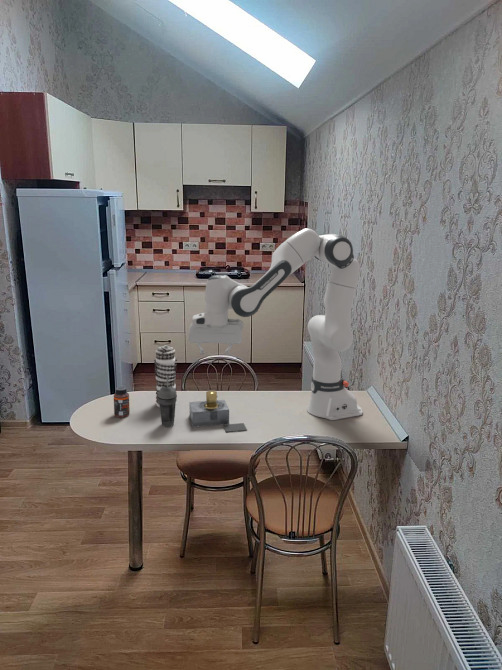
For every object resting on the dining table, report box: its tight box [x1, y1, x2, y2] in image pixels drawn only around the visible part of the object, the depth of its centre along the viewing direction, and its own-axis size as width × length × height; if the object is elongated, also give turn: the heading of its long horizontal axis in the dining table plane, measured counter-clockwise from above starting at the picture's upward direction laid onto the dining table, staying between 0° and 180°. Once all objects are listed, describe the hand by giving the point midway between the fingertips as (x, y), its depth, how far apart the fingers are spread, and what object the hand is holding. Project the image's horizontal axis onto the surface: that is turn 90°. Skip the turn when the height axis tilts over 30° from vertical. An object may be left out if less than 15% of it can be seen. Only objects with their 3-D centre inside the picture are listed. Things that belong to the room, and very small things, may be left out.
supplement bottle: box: [113, 386, 131, 419], centre depth 205 cm, size 6×6×11 cm
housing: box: [188, 399, 230, 428], centre depth 203 cm, size 14×10×6 cm
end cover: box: [205, 389, 218, 409], centre depth 202 cm, size 5×5×10 cm
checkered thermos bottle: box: [153, 344, 178, 408], centre depth 215 cm, size 9×9×25 cm
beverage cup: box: [158, 376, 178, 428], centre depth 197 cm, size 7×7×20 cm
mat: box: [222, 422, 248, 433], centre depth 197 cm, size 8×6×1 cm
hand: (214, 354), depth 197 cm, fingers open, 8 cm apart
